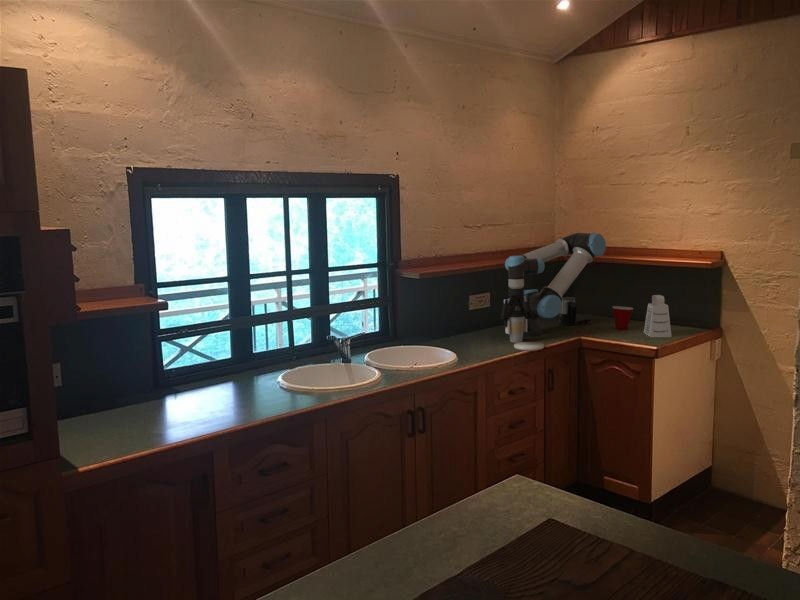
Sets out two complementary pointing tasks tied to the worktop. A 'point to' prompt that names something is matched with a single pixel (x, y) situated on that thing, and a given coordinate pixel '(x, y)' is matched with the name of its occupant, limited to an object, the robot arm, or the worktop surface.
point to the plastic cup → (622, 316)
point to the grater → (657, 318)
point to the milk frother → (569, 312)
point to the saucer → (529, 346)
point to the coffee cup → (517, 326)
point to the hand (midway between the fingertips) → (516, 332)
